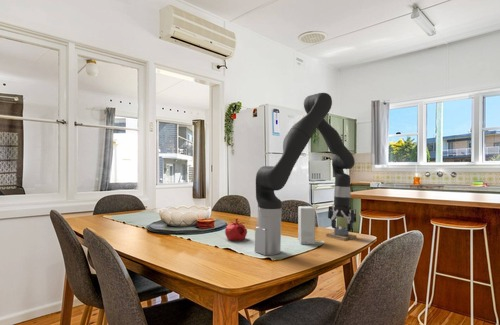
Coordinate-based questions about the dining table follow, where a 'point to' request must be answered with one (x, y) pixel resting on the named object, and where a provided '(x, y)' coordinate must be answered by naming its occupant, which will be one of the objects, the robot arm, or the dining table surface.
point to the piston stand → (350, 236)
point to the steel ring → (340, 231)
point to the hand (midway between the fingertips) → (341, 229)
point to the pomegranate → (235, 231)
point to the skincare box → (306, 224)
